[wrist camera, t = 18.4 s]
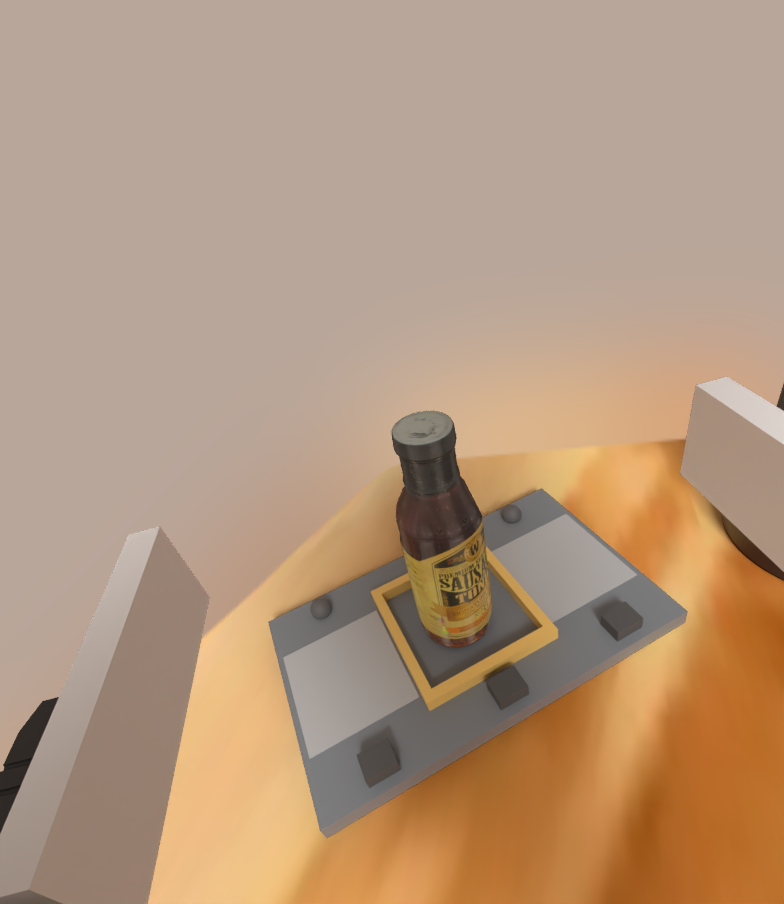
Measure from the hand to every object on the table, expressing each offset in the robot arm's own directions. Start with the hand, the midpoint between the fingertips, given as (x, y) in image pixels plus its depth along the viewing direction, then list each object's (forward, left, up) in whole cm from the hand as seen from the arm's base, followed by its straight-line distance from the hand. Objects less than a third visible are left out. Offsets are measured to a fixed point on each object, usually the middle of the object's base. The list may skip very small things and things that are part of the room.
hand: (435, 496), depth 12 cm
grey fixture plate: (-5, -15, -30) cm, 34 cm away
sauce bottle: (-5, -15, -29) cm, 33 cm away
